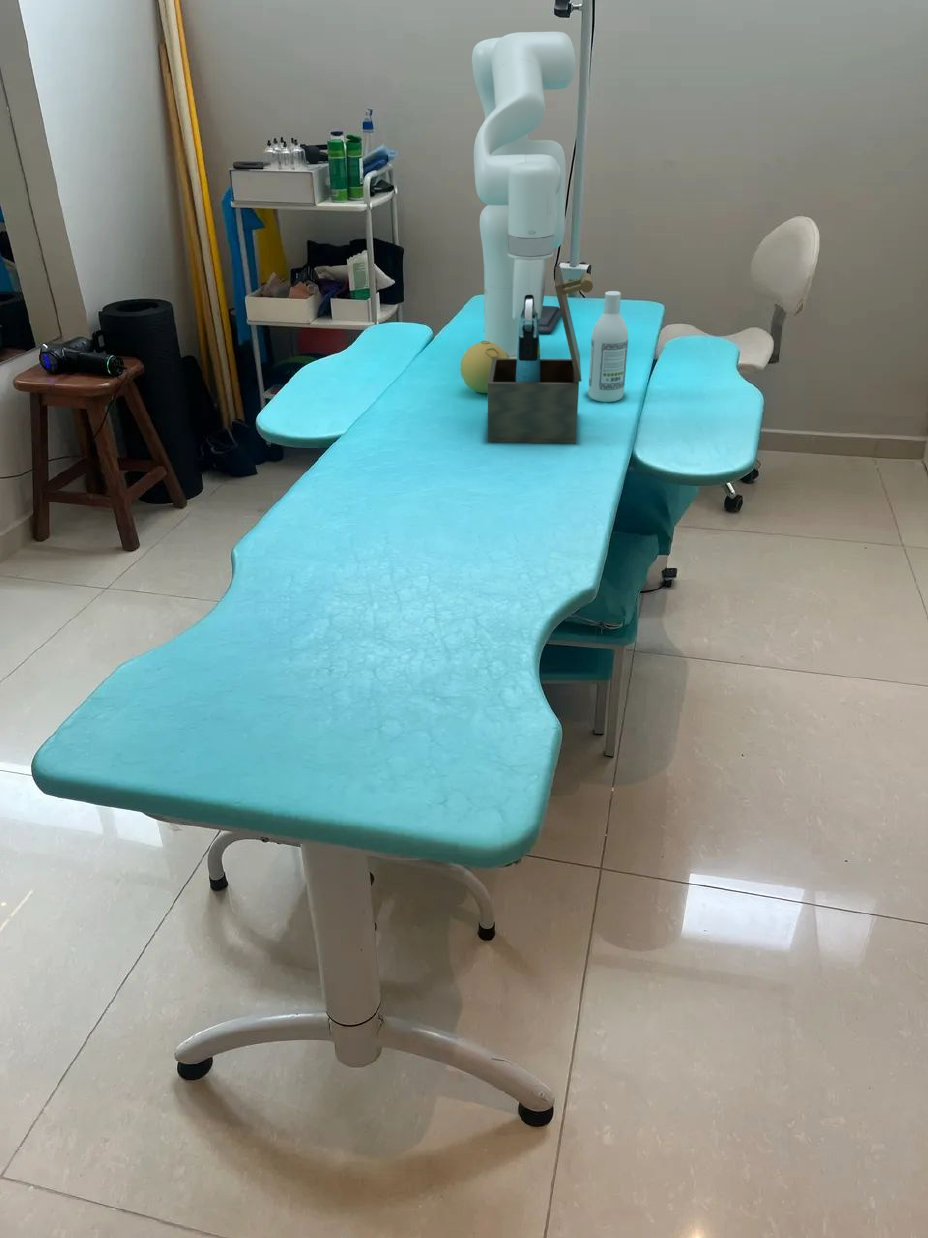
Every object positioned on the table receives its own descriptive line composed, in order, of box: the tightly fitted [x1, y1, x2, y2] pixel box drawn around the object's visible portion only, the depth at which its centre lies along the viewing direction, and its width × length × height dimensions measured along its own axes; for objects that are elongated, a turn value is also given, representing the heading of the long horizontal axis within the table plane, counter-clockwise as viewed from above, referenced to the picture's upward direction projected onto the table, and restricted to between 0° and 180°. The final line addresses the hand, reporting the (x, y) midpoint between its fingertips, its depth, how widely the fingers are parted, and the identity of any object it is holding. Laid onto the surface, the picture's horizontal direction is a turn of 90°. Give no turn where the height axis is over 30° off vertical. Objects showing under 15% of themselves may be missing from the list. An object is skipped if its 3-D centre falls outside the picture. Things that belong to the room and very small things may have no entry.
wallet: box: [538, 305, 562, 335], centre depth 225 cm, size 20×2×15 cm
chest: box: [487, 358, 580, 445], centre depth 165 cm, size 16×14×11 cm
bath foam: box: [587, 290, 629, 403], centre depth 176 cm, size 7×7×20 cm
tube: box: [516, 315, 541, 383], centre depth 162 cm, size 7×5×19 cm, turn 26°
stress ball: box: [460, 340, 509, 394], centre depth 182 cm, size 10×10×10 cm
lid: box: [554, 264, 594, 383], centre depth 157 cm, size 16×14×6 cm
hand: (528, 352), depth 161 cm, fingers closed on tube, 6 cm apart
